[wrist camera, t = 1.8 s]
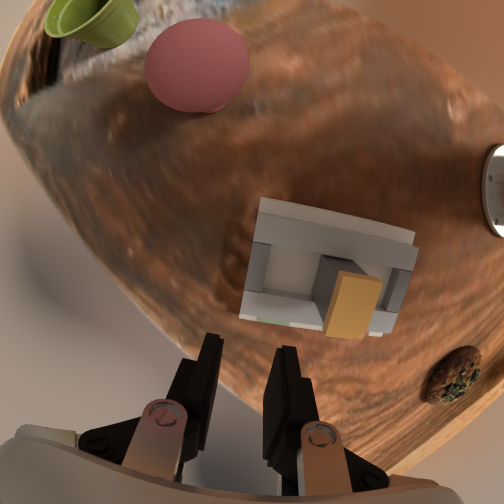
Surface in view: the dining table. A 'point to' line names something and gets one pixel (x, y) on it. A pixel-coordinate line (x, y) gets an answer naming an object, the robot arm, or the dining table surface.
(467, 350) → the bread roll
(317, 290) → the breaker handle
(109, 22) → the plant pot
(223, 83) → the light bulb
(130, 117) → the dining table surface
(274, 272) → the switch panel
